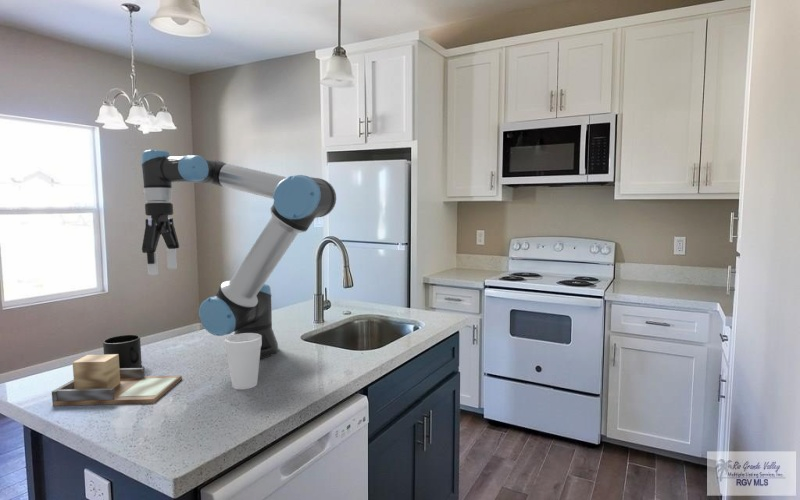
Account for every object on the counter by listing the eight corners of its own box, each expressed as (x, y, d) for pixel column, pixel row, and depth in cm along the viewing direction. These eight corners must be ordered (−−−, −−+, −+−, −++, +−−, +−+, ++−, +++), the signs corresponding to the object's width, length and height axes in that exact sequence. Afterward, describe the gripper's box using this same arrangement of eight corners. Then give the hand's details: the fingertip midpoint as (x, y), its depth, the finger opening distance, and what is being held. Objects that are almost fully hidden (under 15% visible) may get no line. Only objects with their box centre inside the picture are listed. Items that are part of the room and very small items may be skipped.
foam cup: (228, 394, 117) (226, 344, 116) (224, 382, 125) (222, 335, 124) (266, 387, 121) (265, 339, 120) (259, 376, 130) (258, 331, 128)
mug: (123, 377, 129) (121, 346, 129) (97, 371, 135) (95, 341, 134) (154, 367, 138) (152, 337, 137) (128, 361, 143) (127, 333, 142)
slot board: (181, 378, 128) (181, 366, 128) (153, 403, 112) (153, 389, 112) (93, 380, 127) (92, 368, 127) (52, 405, 111) (51, 391, 111)
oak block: (120, 383, 122) (118, 354, 122) (107, 392, 116) (105, 361, 116) (89, 384, 122) (87, 354, 121) (74, 393, 116) (72, 362, 115)
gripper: (163, 203, 151) (167, 267, 153) (124, 201, 126) (130, 278, 128) (187, 202, 152) (190, 266, 154) (153, 201, 127) (158, 277, 129)
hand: (163, 271), depth 141 cm, fingers open, 13 cm apart
